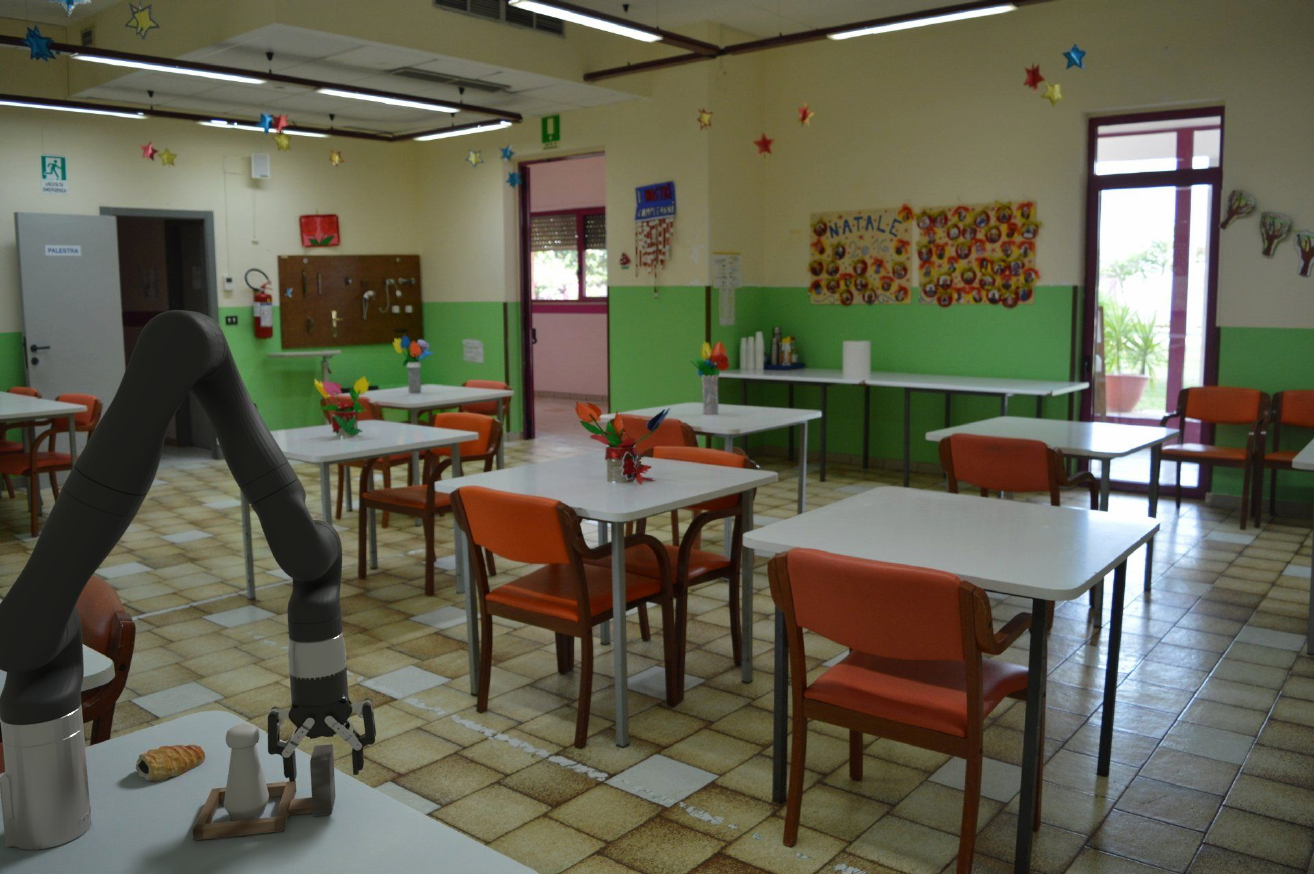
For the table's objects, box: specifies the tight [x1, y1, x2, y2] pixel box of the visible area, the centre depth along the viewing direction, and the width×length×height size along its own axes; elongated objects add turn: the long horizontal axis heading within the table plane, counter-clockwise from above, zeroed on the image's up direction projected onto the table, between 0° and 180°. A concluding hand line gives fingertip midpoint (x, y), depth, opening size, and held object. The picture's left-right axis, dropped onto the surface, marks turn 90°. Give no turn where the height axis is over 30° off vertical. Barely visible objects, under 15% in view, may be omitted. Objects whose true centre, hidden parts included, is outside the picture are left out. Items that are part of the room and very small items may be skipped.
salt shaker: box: [223, 723, 270, 821], centre depth 138 cm, size 6×6×13 cm
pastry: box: [135, 744, 206, 782], centre depth 153 cm, size 9×7×4 cm
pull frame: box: [192, 743, 336, 841], centre depth 139 cm, size 17×11×8 cm, turn 102°
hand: (325, 775), depth 141 cm, fingers open, 8 cm apart
